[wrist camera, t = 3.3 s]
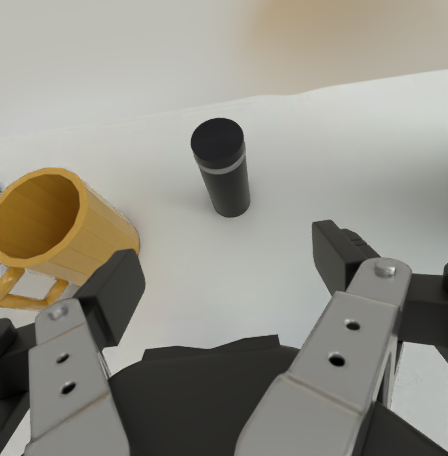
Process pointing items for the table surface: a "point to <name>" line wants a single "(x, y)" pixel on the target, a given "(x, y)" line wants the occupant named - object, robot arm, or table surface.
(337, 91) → the table surface
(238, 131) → the dark grey cylinder
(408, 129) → the table surface
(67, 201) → the mug
